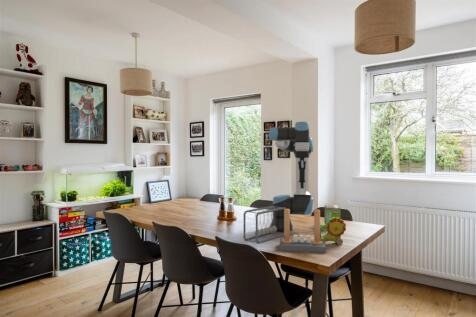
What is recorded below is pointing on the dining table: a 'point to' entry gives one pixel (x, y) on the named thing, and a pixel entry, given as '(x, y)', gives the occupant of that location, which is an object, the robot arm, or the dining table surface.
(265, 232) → the newton's cradle
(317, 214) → the post
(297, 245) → the breaker board
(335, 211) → the tea box
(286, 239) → the post
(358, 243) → the dining table surface
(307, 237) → the breaker paddles
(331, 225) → the toy lion
